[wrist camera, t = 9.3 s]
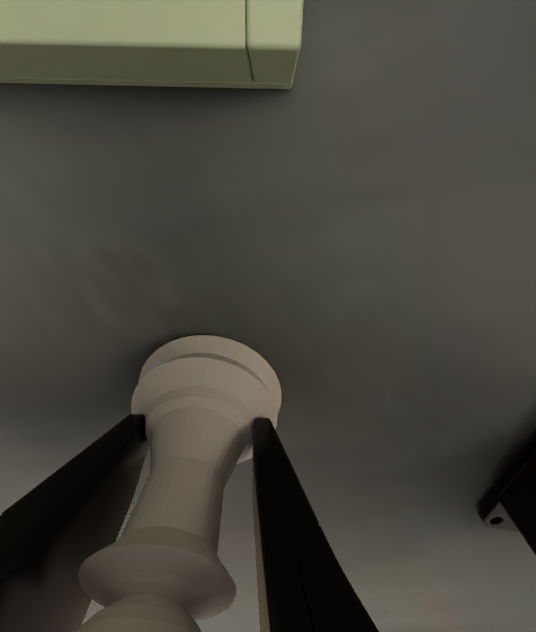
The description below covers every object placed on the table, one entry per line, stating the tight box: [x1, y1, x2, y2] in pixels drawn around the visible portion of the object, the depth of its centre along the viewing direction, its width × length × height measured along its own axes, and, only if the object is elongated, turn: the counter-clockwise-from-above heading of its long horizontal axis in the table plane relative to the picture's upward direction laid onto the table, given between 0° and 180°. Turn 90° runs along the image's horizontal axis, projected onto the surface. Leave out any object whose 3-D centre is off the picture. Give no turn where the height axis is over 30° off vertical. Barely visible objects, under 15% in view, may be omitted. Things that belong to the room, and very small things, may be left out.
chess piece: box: [76, 335, 282, 632], centre depth 7 cm, size 5×5×8 cm
